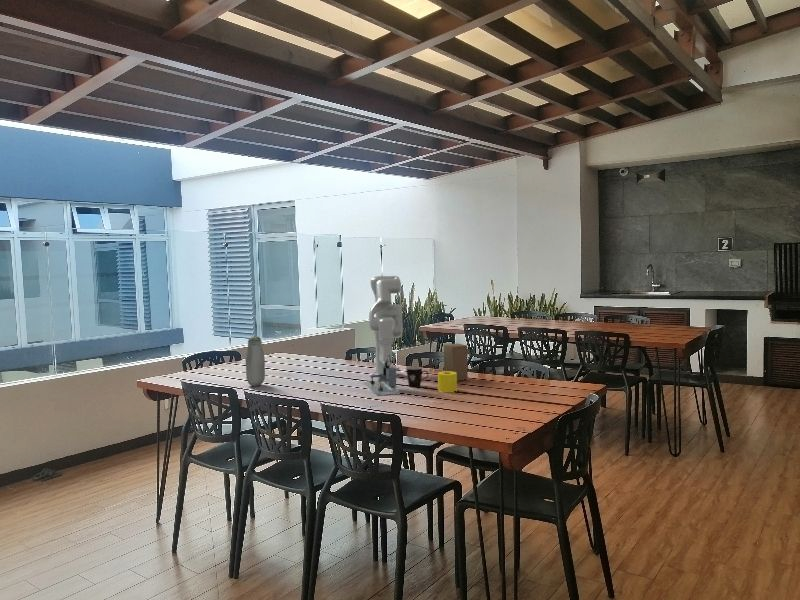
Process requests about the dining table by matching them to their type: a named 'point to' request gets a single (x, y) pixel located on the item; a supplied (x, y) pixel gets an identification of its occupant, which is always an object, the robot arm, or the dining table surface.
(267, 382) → the dining table surface
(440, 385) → the tape roll
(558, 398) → the dining table surface
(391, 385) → the sliding jaw
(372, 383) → the gauge board
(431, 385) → the dining table surface
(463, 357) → the wooden block
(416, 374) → the coffee mug
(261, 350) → the grey vase
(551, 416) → the dining table surface
